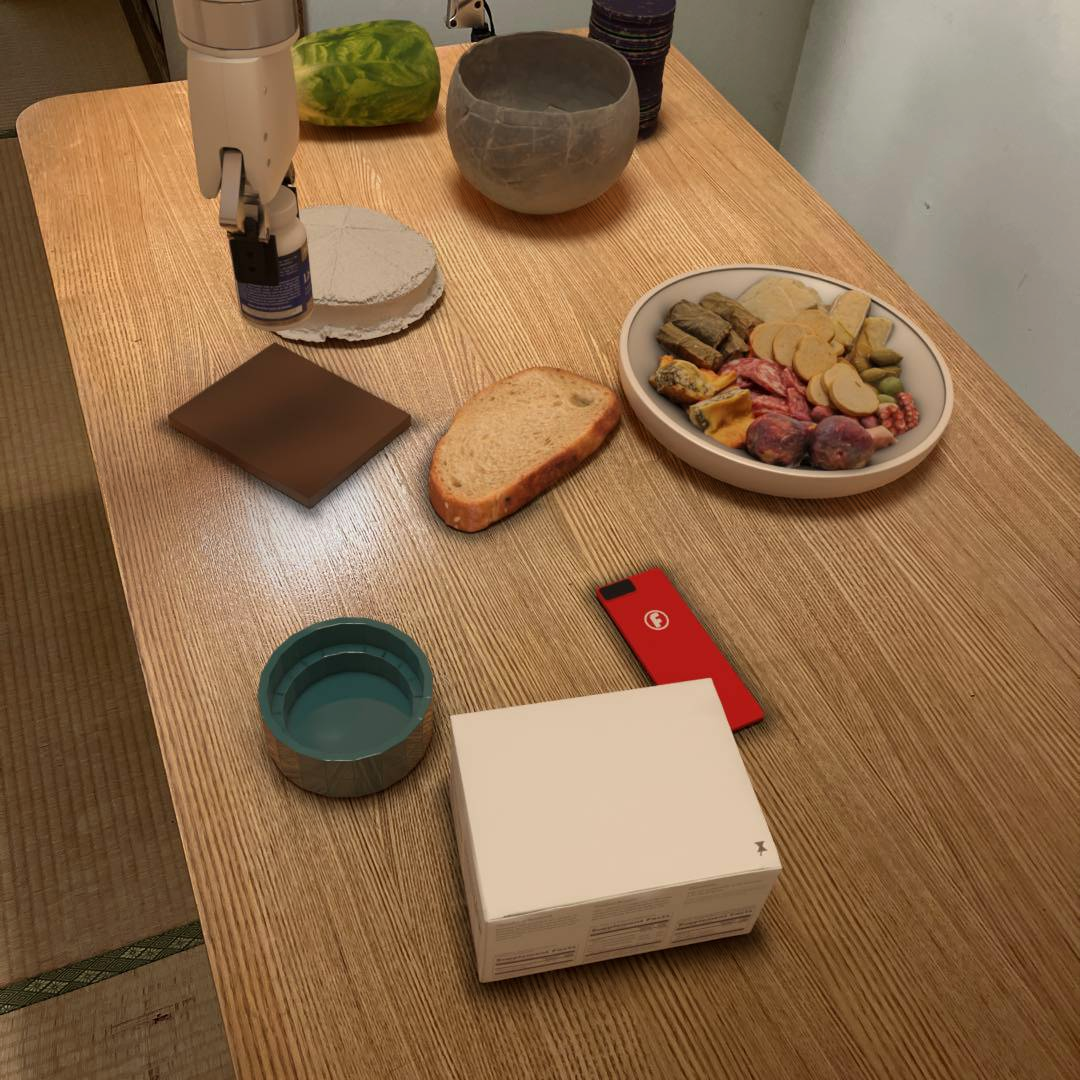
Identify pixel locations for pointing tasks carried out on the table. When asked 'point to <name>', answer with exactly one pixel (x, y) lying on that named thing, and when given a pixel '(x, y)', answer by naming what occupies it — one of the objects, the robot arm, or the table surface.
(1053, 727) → the table surface
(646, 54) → the dark purple ridged cylinder
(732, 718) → the electronic device
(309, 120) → the lettuce
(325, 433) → the walnut board
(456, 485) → the bread slice
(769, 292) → the bowl
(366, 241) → the grey pie
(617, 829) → the supplement box
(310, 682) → the teal bowl
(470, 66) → the bowl
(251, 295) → the pill bottle
